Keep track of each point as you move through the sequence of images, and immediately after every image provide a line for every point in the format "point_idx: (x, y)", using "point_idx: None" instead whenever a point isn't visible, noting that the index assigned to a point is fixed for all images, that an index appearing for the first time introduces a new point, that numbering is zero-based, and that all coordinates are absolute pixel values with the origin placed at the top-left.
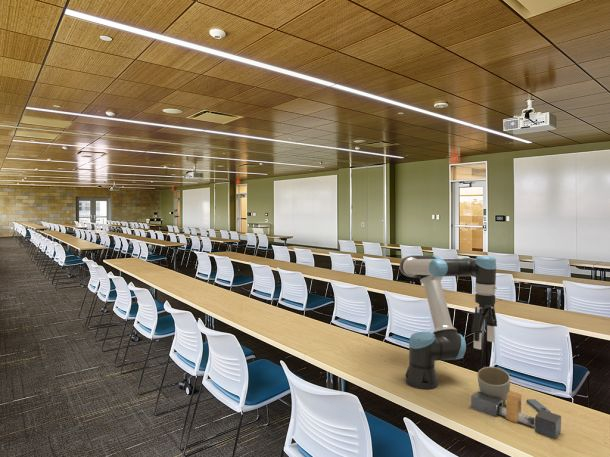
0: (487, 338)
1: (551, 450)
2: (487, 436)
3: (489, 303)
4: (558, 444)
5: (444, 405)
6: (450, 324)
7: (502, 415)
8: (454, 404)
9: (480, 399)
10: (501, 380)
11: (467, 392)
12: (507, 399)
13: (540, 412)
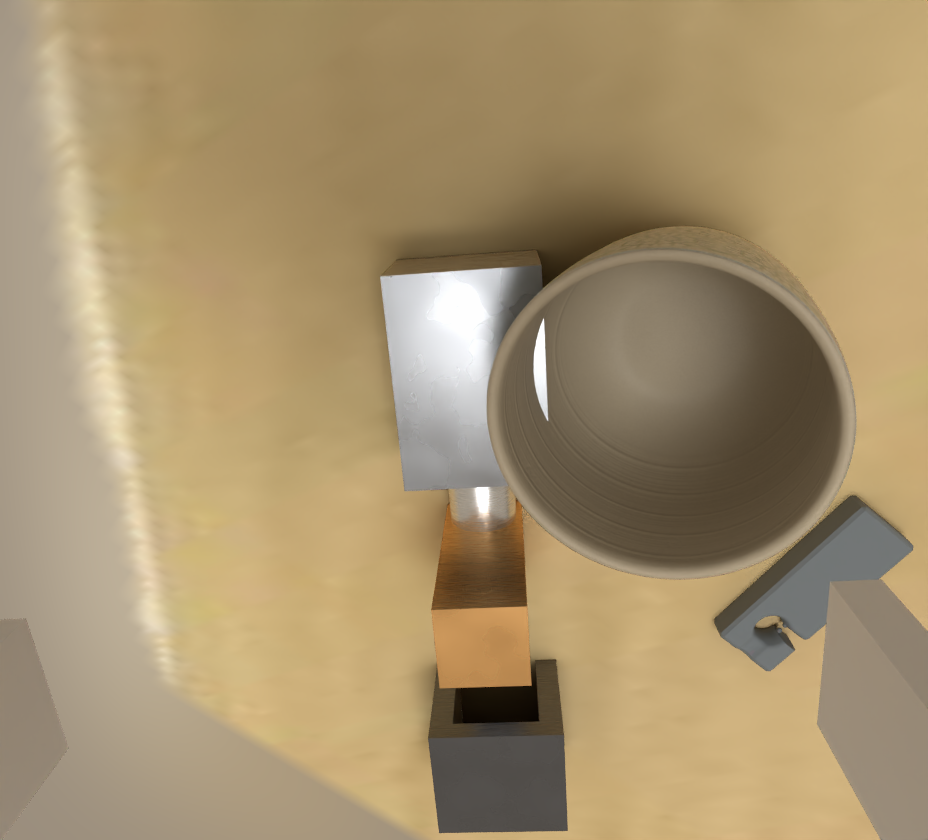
0: (861, 631)
1: (312, 765)
2: (134, 515)
3: None
4: (405, 770)
5: (248, 79)
6: None
7: None
8: (341, 128)
9: (391, 361)
10: (823, 402)
11: (680, 67)
12: (435, 588)
13: (510, 743)
